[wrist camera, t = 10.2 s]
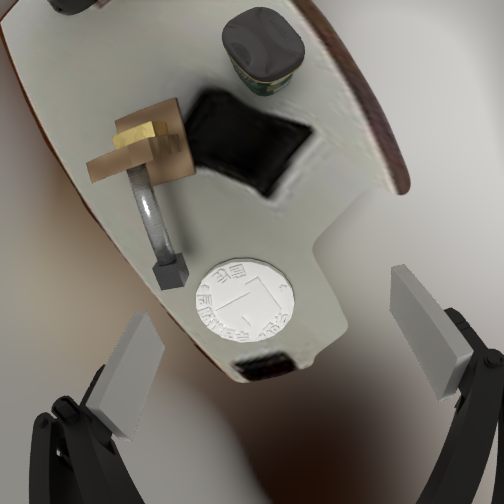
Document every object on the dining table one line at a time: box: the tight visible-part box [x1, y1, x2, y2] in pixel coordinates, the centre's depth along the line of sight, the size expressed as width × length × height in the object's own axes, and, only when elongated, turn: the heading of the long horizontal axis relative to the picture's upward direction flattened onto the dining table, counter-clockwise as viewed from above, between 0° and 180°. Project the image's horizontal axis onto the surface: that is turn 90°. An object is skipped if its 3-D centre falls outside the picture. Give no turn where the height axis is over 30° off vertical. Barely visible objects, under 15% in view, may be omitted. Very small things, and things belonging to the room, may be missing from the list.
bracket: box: [86, 98, 196, 186], centre depth 38 cm, size 14×12×15 cm
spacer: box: [112, 121, 170, 150], centre depth 40 cm, size 2×7×7 cm, turn 103°
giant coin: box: [196, 259, 295, 342], centre depth 57 cm, size 20×20×3 cm
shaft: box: [127, 163, 189, 290], centre depth 40 cm, size 21×4×4 cm, turn 13°
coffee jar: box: [222, 7, 305, 96], centre depth 31 cm, size 10×8×19 cm
